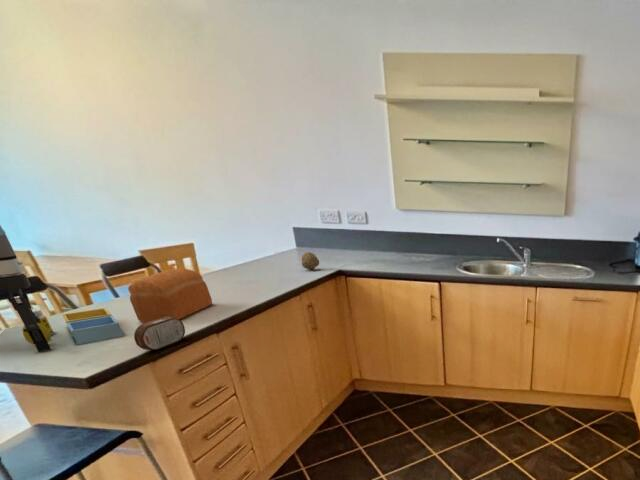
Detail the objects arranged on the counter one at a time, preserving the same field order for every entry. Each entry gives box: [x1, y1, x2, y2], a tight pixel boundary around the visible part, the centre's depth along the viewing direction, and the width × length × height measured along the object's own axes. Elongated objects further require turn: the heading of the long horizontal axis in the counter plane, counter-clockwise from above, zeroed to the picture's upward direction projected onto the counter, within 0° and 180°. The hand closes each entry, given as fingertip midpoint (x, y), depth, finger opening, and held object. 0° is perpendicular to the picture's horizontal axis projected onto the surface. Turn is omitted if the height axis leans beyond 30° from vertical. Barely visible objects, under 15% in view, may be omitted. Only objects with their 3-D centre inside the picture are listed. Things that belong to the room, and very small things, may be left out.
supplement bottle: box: [31, 308, 54, 336], centre depth 136 cm, size 5×5×8 cm
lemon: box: [21, 323, 52, 345], centre depth 128 cm, size 6×6×8 cm
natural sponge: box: [301, 251, 320, 271], centre depth 236 cm, size 9×9×10 cm
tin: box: [133, 317, 186, 351], centre depth 130 cm, size 15×3×8 cm, turn 171°
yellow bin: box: [61, 307, 113, 324], centre depth 145 cm, size 11×11×5 cm
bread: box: [127, 268, 213, 323], centre depth 159 cm, size 14×26×16 cm, turn 3°
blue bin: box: [66, 315, 125, 345], centre depth 137 cm, size 11×11×5 cm
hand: (43, 345), depth 129 cm, fingers open, 11 cm apart
